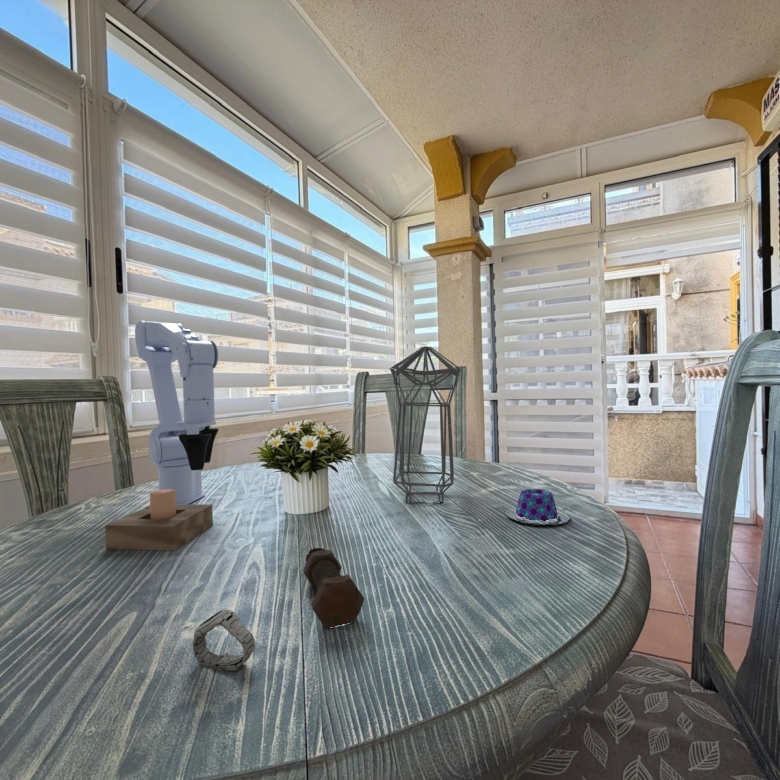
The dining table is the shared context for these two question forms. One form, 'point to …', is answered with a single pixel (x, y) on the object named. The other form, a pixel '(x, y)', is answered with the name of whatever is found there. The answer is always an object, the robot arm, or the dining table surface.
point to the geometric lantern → (404, 366)
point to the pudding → (536, 505)
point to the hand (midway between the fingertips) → (200, 466)
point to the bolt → (331, 589)
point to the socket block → (158, 529)
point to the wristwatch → (235, 629)
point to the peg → (163, 504)
